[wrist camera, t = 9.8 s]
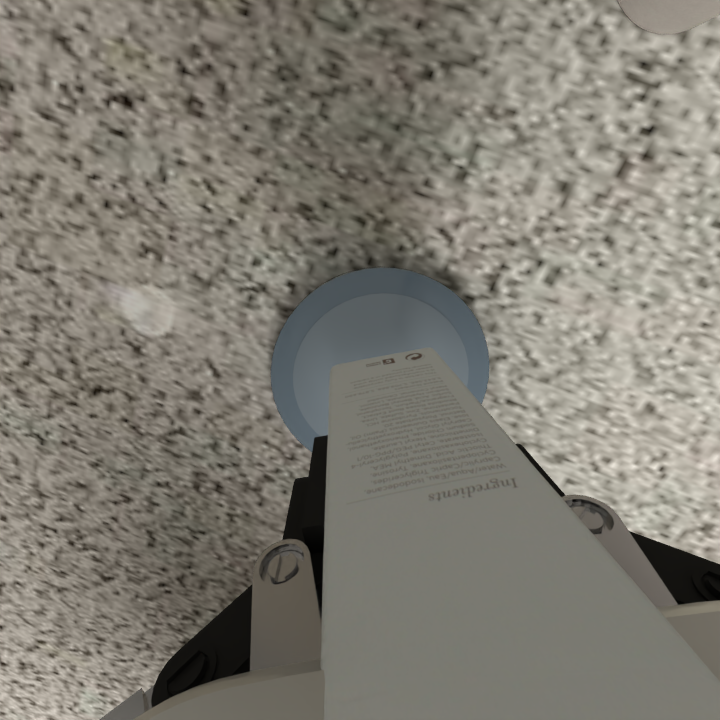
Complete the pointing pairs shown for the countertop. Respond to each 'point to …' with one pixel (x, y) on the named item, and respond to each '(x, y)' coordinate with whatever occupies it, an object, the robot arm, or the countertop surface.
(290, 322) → the dish
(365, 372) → the skincare box
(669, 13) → the coffee cup
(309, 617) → the robot arm
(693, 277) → the countertop surface
